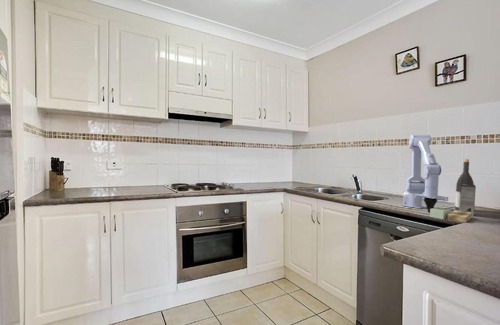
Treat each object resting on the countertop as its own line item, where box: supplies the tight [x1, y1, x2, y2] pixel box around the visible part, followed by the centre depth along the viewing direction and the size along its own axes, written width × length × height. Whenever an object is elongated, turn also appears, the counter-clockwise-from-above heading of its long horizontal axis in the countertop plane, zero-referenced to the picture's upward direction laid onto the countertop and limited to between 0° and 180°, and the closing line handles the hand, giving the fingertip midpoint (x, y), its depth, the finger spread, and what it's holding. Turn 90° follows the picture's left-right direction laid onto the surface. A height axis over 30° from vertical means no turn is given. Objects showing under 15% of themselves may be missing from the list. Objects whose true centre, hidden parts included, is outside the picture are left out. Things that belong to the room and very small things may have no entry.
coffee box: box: [458, 184, 477, 217], centre depth 141 cm, size 9×6×16 cm
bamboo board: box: [446, 209, 473, 223], centre depth 129 cm, size 7×16×2 cm, turn 131°
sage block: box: [429, 207, 452, 220], centre depth 132 cm, size 6×8×4 cm
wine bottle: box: [454, 158, 475, 211], centre depth 151 cm, size 8×8×30 cm
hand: (429, 212), depth 136 cm, fingers closed
